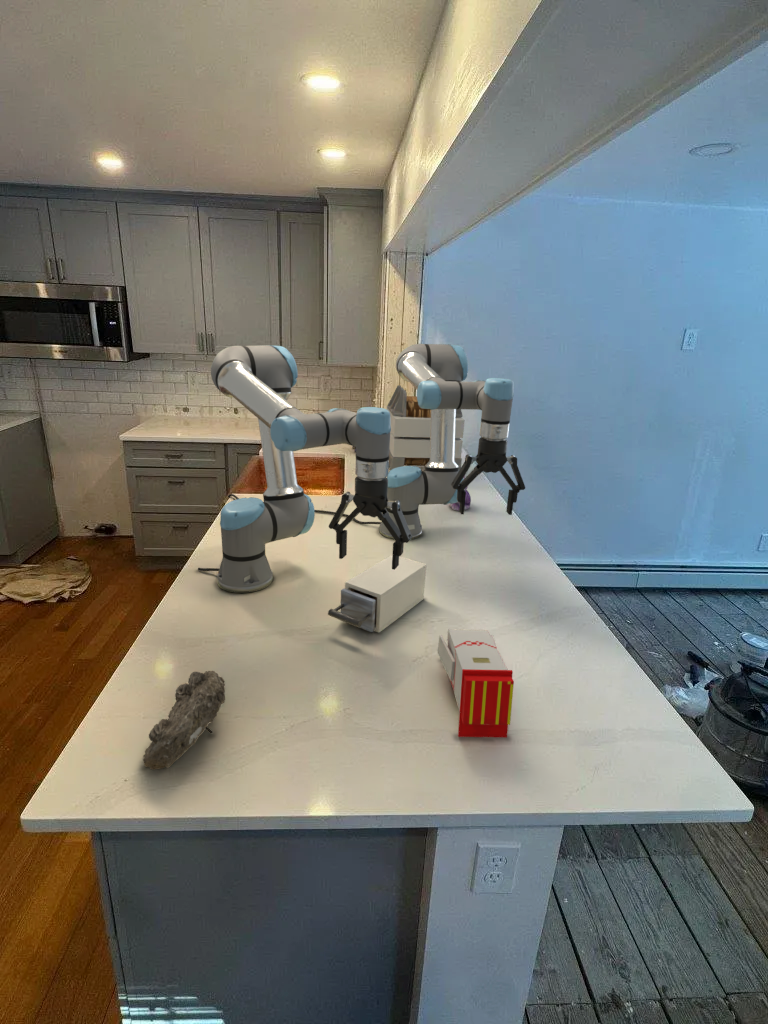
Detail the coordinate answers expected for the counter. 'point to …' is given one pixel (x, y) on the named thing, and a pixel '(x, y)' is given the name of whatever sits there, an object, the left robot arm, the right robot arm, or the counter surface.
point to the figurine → (467, 501)
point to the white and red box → (478, 682)
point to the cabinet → (391, 588)
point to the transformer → (415, 432)
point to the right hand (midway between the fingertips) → (485, 513)
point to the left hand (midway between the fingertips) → (368, 562)
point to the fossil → (185, 719)
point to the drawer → (356, 609)
